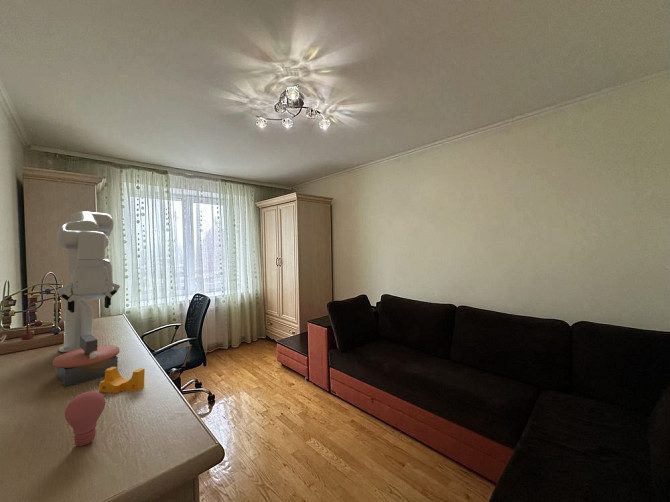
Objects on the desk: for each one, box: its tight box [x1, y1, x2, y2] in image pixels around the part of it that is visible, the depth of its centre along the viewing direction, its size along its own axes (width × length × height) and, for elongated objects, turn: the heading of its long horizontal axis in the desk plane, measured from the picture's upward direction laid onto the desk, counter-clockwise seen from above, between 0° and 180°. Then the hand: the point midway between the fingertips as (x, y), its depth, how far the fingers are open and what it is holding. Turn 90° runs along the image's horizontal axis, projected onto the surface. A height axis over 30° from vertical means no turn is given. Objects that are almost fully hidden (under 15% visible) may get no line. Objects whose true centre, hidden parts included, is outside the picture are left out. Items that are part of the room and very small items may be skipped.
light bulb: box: [64, 390, 106, 447], centre depth 63 cm, size 7×7×12 cm
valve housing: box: [56, 355, 119, 389], centre depth 97 cm, size 14×14×6 cm
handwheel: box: [52, 334, 120, 368], centre depth 97 cm, size 18×18×7 cm
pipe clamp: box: [98, 366, 145, 394], centre depth 87 cm, size 12×4×6 cm, turn 85°
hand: (90, 309), depth 97 cm, fingers open, 9 cm apart
